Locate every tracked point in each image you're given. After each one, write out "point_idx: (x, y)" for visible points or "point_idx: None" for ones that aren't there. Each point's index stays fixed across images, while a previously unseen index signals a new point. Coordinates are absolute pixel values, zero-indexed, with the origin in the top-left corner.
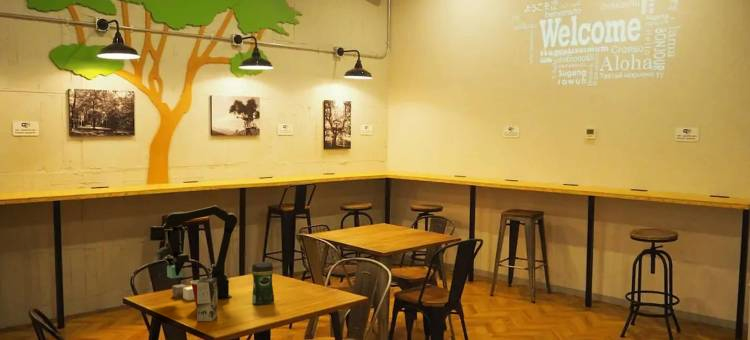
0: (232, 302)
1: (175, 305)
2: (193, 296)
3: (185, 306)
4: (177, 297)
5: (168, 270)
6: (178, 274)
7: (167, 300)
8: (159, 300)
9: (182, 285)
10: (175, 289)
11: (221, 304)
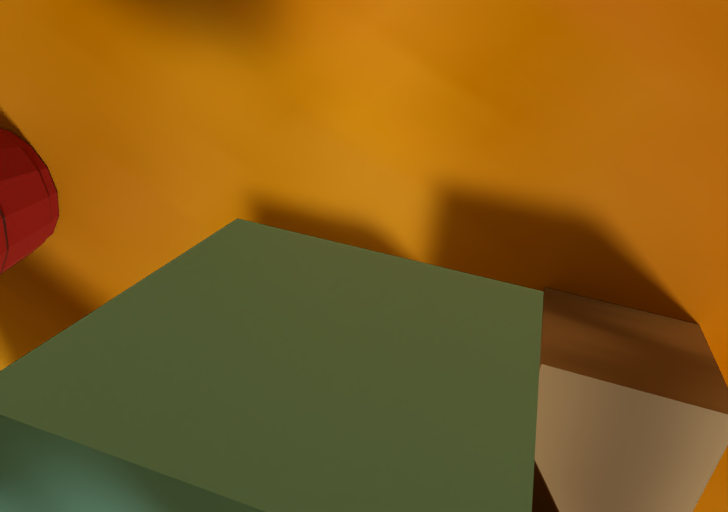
0: None
1: (247, 54)
2: None
3: (142, 108)
4: (544, 294)
5: (385, 383)
6: None
7: (550, 135)
8: (660, 54)
9: (593, 492)
10: (603, 358)
11: None
